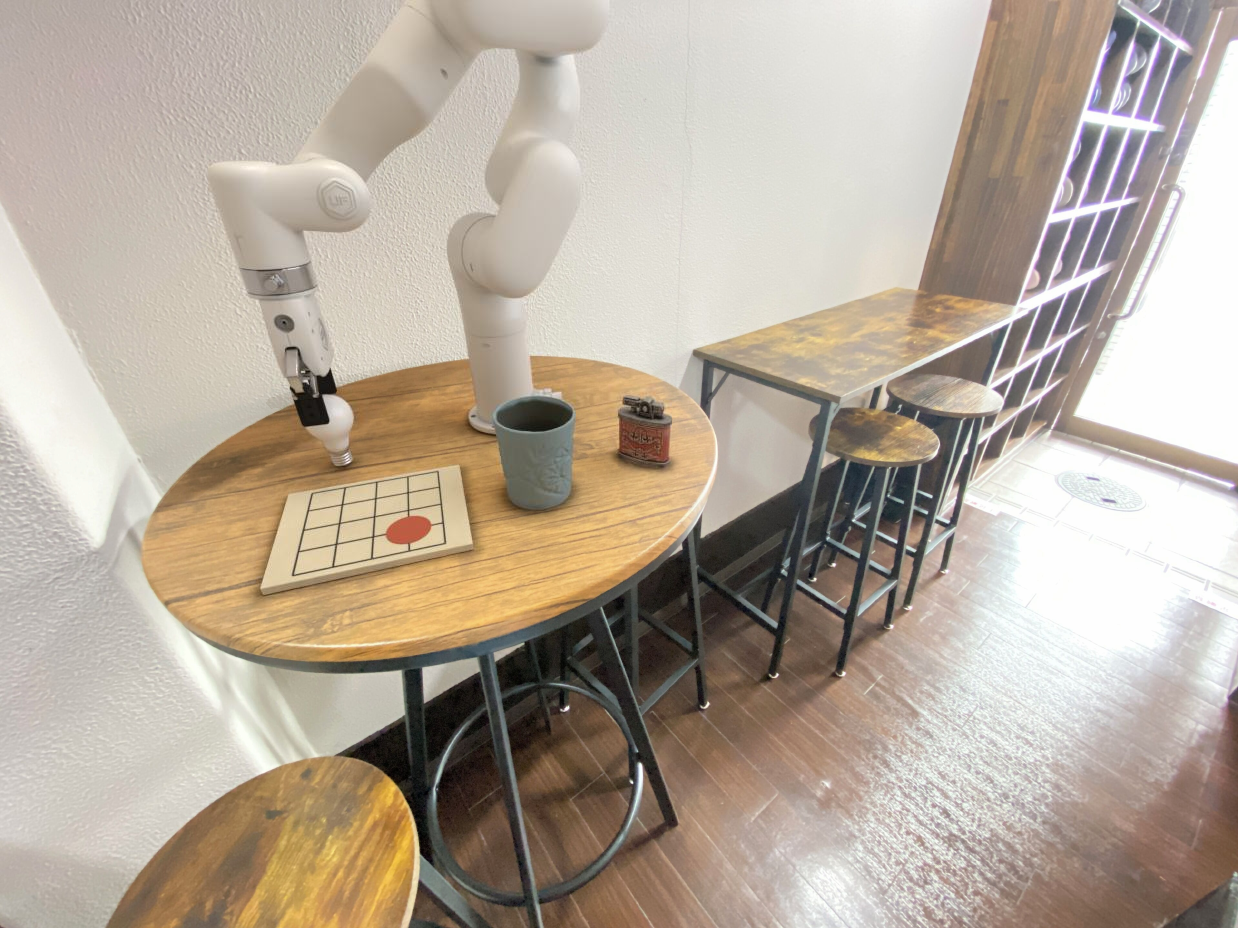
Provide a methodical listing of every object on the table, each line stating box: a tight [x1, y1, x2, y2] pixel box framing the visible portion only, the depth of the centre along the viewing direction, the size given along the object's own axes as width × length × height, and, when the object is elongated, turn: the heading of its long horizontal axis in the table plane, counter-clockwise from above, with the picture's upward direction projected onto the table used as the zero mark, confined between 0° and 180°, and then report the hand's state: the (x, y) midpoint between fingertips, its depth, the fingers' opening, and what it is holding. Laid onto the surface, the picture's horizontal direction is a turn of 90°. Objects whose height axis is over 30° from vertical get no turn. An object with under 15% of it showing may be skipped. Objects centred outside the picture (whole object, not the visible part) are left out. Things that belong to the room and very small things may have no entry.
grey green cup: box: [492, 396, 576, 511], centre depth 69 cm, size 10×10×12 cm
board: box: [259, 464, 474, 596], centre depth 66 cm, size 22×18×1 cm
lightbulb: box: [304, 394, 355, 467], centre depth 75 cm, size 6×6×11 cm
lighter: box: [617, 394, 673, 469], centre depth 77 cm, size 8×3×10 cm, turn 65°
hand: (321, 408), depth 73 cm, fingers open, 9 cm apart
